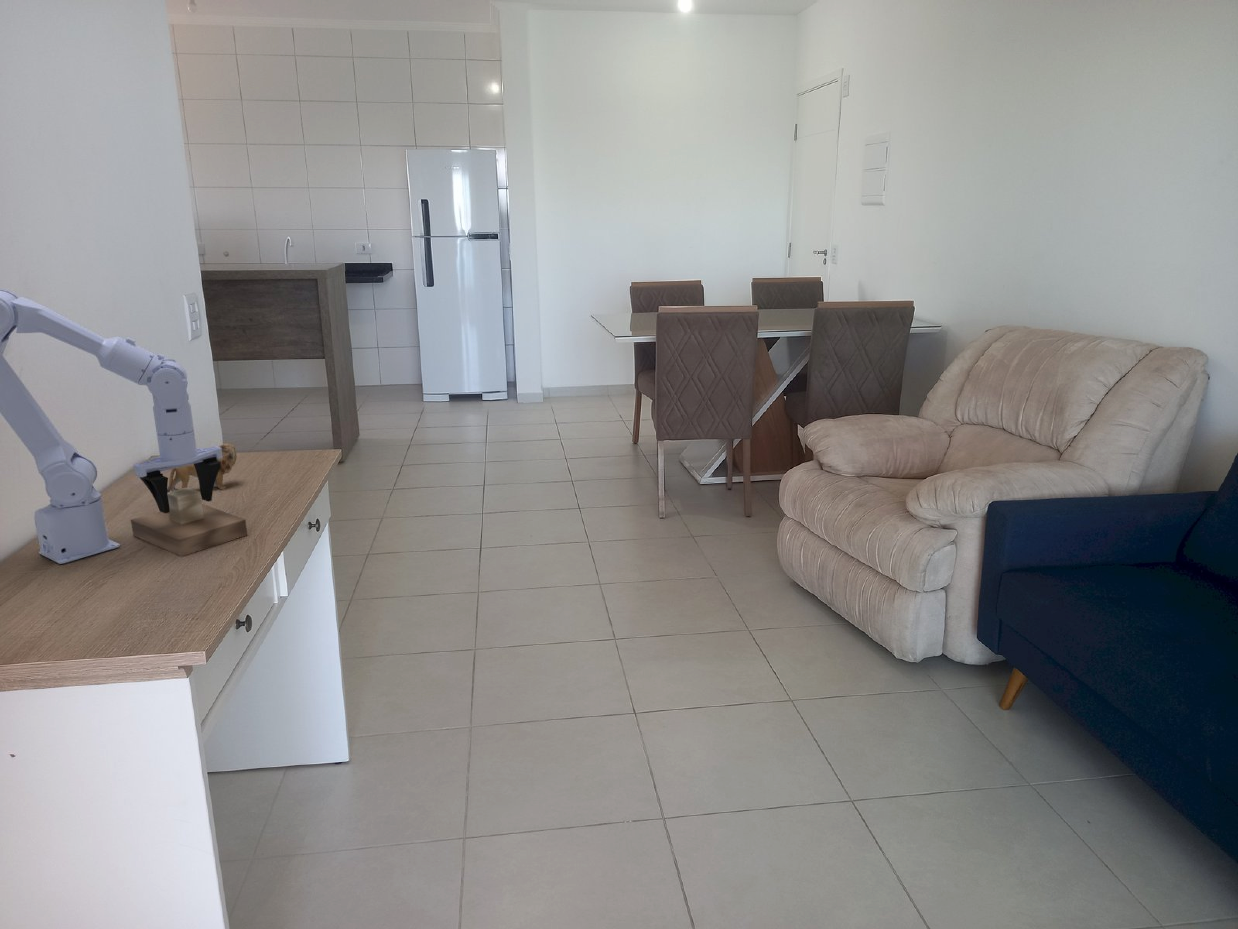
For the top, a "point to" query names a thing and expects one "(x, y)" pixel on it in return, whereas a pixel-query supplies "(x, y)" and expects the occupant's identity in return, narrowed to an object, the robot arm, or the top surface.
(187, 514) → the birch block
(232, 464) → the lion figurine
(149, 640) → the top surface
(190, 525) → the walnut plinth
